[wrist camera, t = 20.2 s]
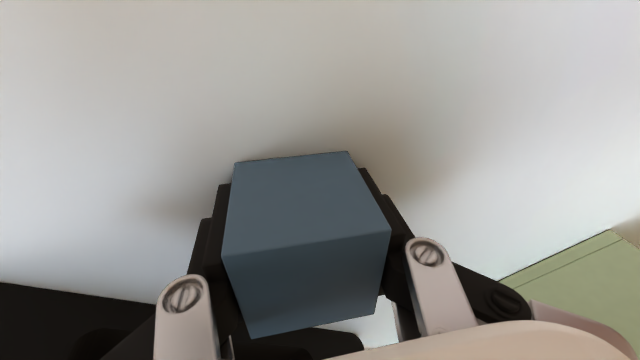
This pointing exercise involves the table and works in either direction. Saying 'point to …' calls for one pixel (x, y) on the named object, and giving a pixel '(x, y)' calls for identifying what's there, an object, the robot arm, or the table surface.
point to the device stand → (128, 329)
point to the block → (303, 242)
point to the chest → (590, 283)
